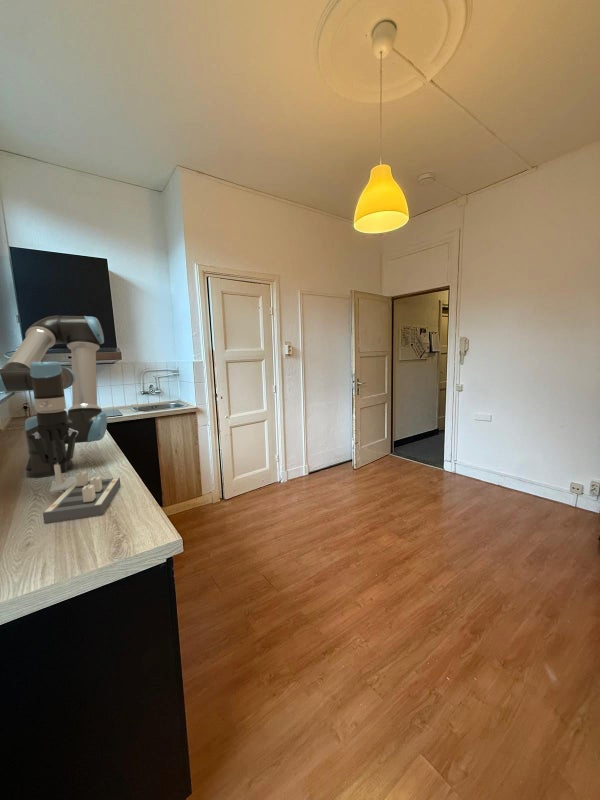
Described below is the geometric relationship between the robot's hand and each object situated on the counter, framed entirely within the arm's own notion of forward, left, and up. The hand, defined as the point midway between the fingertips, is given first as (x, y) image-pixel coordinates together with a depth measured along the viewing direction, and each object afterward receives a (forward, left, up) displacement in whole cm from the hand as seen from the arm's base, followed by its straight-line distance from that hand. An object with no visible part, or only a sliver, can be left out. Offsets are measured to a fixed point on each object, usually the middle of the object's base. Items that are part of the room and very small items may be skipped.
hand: (60, 482), depth 102 cm
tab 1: (0, +6, -2) cm, 6 cm away
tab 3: (+7, +12, -2) cm, 14 cm away
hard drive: (-11, -3, -6) cm, 13 cm away
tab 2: (+14, +12, -2) cm, 19 cm away
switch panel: (+7, +9, -5) cm, 12 cm away
